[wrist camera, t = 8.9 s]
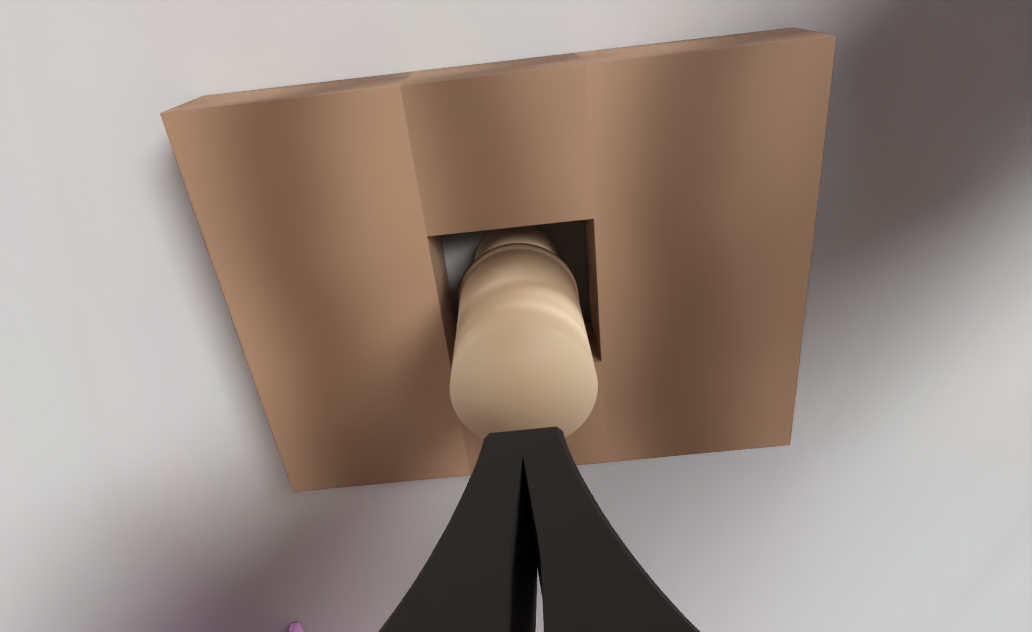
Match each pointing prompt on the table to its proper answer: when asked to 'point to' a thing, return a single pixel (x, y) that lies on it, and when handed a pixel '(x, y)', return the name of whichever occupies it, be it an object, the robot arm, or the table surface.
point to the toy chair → (296, 627)
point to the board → (513, 203)
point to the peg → (521, 339)
